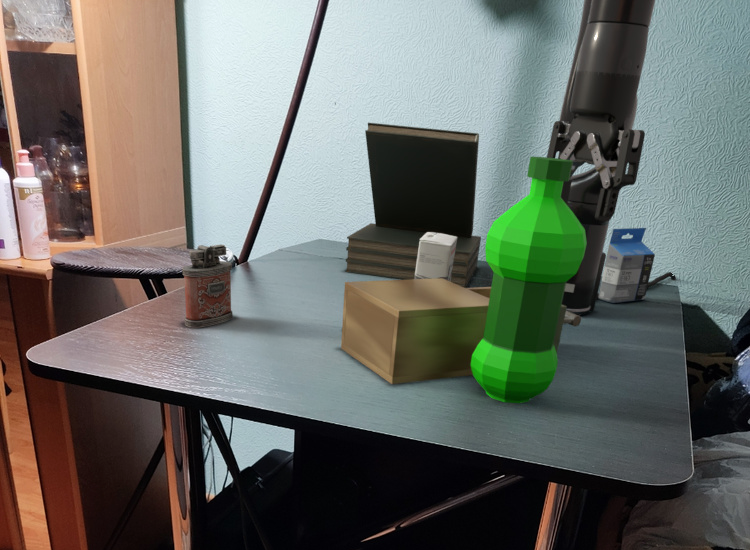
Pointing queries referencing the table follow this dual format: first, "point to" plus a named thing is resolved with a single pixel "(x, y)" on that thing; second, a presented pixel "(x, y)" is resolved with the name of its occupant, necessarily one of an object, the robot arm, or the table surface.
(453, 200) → the stack of books
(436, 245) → the ink box
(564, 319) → the wooden drawer
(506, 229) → the plastic bottle
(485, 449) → the table surface
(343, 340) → the tan rectangular box
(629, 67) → the robot arm
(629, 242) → the label tape box
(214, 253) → the lighter
